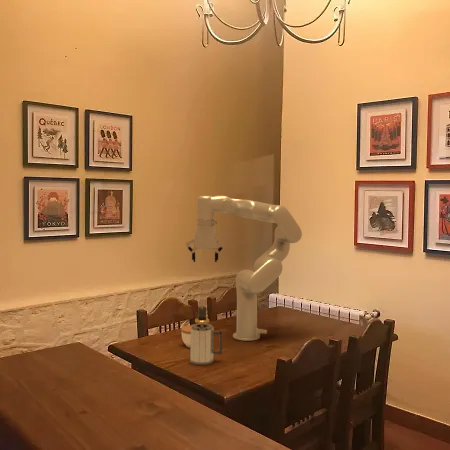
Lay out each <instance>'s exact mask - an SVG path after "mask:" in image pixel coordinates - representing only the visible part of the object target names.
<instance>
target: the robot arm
mask: <svg viewBox="0 0 450 450" xmlns="http://www.w3.org/2000/svg"><path fill="white" fill-rule="evenodd" d="M196 201H197V202H196V205H197V206H196V224H197V225H196V226H195V227H194V233H193V239H191V240H189V241H187V242H186V243H185V246H186V247H187V249H188V250H189V251H190V252H191V261H193V263H195V262H196V251H197V250H214V251H215V252H214V262H215V263H217V262H218V261H219V254H220V252H221V251H222V250H223V248H224V246H225V244H226V243H225V242H223V241H221V240H219V239H217V238H218V237H217V236H218V235H217V229H216V226H215V225H217V224H218V221H217V220H215V212H216V213H221V214H227V215H232V216H237V217H240V218H245V219H249V220H254V221H259V222H265V223H272V224H276V225H277V226H276V227H275V229H274V241H273V244H272V245H271V247H269V248H268V249H267V250H266V251H265V252H263V254H262V255H260V256H259V257H258V258H257V259H256V260H255V262H254V264H253V269H254V270H255V271H253V270H250V269H242V270H240V271H239V272H238V273H237V274H236V277H235V288H236V290H235V291H236V331H235V332H234V333H233V334H232V338H233V339H235V340H237V341H244V342H245V341H246V342H249V341H257V340H259V339H261V335H262V334H263V335H267V334H268V329H263V328H258V294H260V293H262V292H263V291H265V290H266V289H267V288H268V287H269V286H270V285H271V284H273V283H274V282H275V281H276V280H277V279H278V278H279V277H280V276H281V274H282V272H283V263H282V262H283V261H284V260H285V259H286V258H287V256H288V255H289V253H290V247H291V244H296V243H298V242H299V241H301V239H302V236H303V232H302V229H301V227H300V225H299V224H298V222H297V221H296V220H295V218H294V217H293V215H292V214H291V212H290V211H289V210H288V209H287V207H285V206H284V205H280V204H271V203H267V202H266V203H265V202H261V201H255V200H252V199H251V200H250V199H236V198H231V197H229V196H227V195H214V196H213V195H200V196H197V200H196ZM191 244H193V248H192V247H191V246H190V245H191ZM217 244H219V245H220V246H219V247H218V248H217Z"/></svg>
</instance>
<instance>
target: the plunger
mask: <svg viewBox="0 0 450 450" xmlns="http://www.w3.org/2000/svg"><path fill="white" fill-rule="evenodd" d="M197 309H198V311H197V312H198V313H197V318H195V319H194V322H195V324H198V323H201V327H203V323H205V324H206V323H207V324H210V319H209V318H207V306H205V305H204V306H203V305H202V306H201V305H200V306H198V307H197Z"/></svg>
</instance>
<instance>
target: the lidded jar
mask: <svg viewBox="0 0 450 450" xmlns="http://www.w3.org/2000/svg"><path fill="white" fill-rule="evenodd" d="M192 325H193V324H191V325H185V326H182V327H181V329H180V331H181V340H182V342H183V343H184V345H185V346H186V347H187V348H190V349H191V327H192Z"/></svg>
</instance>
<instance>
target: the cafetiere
mask: <svg viewBox="0 0 450 450" xmlns="http://www.w3.org/2000/svg"><path fill="white" fill-rule="evenodd" d="M191 325H192V327H191V348H190V352H189V354H190V358H189V362H190V363H191V364H192V365H196V366H208V365H211V364H213V363H214V355H222V354H223V330H214V326H213V324H210V323H203V327H201V323H194V324H193V323H192V324H191ZM215 335H219V338H218V339H219V344H218V345H219V346H218V347H219V349H218V350H214V337H215Z"/></svg>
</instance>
